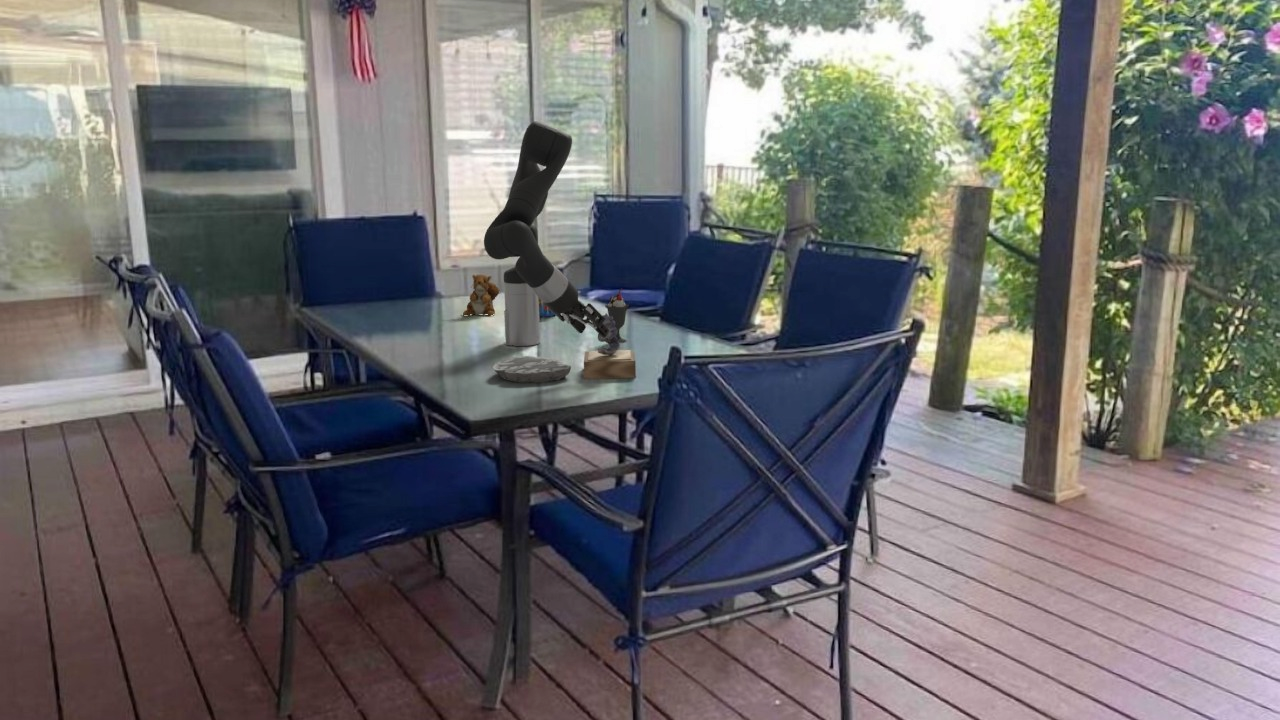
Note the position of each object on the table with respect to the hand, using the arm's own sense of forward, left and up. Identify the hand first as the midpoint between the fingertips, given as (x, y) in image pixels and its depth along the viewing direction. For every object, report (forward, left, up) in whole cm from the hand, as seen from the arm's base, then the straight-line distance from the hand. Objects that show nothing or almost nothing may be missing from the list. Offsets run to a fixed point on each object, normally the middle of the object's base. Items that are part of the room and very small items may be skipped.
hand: (594, 332), depth 226 cm
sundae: (+5, +41, -11) cm, 43 cm away
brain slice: (-16, +1, -11) cm, 19 cm away
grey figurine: (+3, +3, -6) cm, 8 cm away
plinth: (+3, +3, -10) cm, 11 cm away
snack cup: (-18, +87, -11) cm, 90 cm away
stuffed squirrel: (-39, +94, -11) cm, 102 cm away
